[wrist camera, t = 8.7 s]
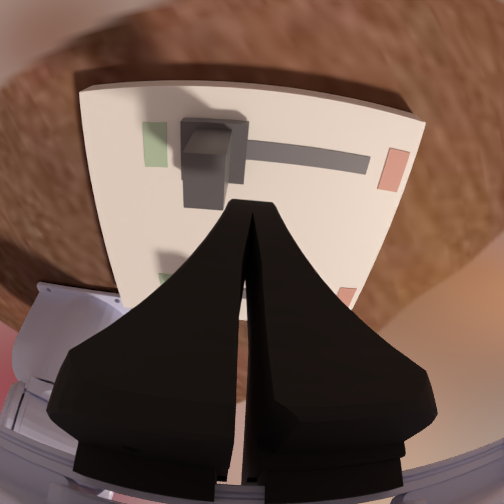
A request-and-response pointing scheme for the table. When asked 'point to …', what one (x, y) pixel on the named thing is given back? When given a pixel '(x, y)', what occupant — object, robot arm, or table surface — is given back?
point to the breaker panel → (256, 174)
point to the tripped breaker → (211, 159)
